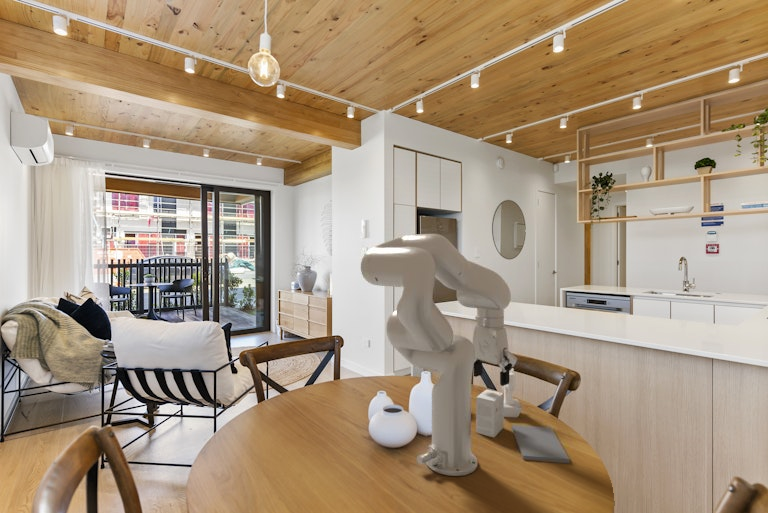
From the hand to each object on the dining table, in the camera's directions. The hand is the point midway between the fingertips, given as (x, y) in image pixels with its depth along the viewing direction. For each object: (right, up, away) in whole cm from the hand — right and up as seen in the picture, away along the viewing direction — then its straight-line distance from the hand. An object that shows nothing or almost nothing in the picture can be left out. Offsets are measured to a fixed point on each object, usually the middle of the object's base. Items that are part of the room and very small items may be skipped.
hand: (490, 380), depth 115 cm
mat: (+10, -15, -9) cm, 20 cm away
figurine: (+9, -15, +11) cm, 20 cm away
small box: (0, -15, 0) cm, 15 cm away
